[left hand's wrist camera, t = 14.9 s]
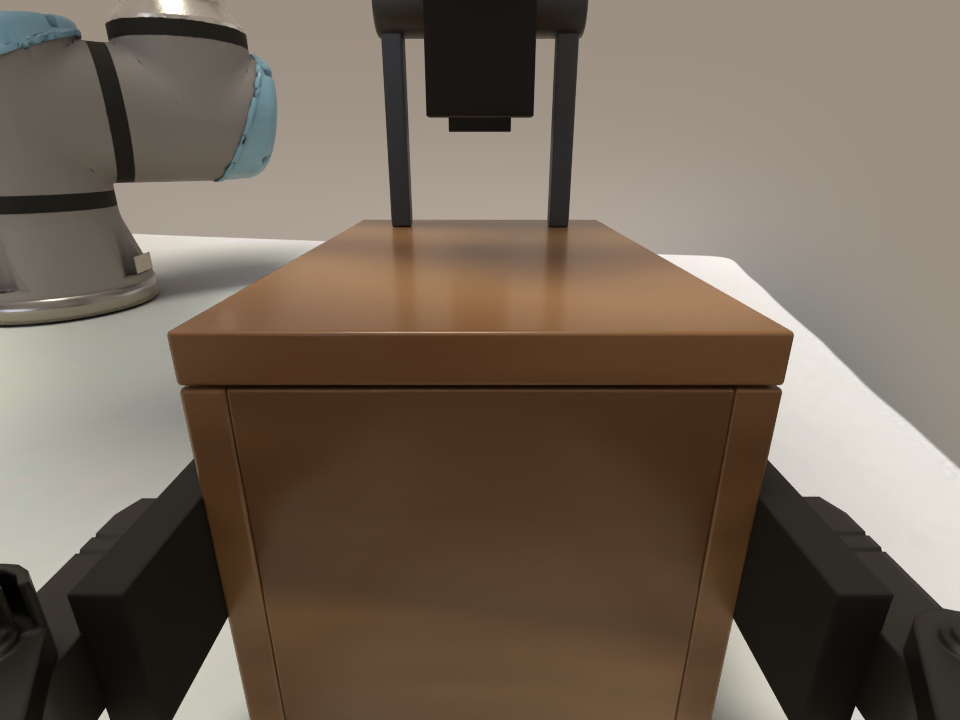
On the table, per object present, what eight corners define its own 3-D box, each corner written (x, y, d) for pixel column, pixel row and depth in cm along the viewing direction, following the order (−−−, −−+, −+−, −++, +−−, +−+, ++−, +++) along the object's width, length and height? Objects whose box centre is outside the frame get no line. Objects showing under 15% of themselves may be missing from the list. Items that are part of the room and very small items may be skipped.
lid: (364, 242, 23) (346, -7, 20) (595, 241, 23) (613, -7, 20) (176, 387, 9) (1, -422, 5) (785, 387, 9) (959, -420, 5)
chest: (378, 452, 26) (362, 244, 22) (581, 452, 26) (597, 244, 22) (263, 792, 12) (175, 390, 9) (697, 792, 12) (785, 390, 9)
